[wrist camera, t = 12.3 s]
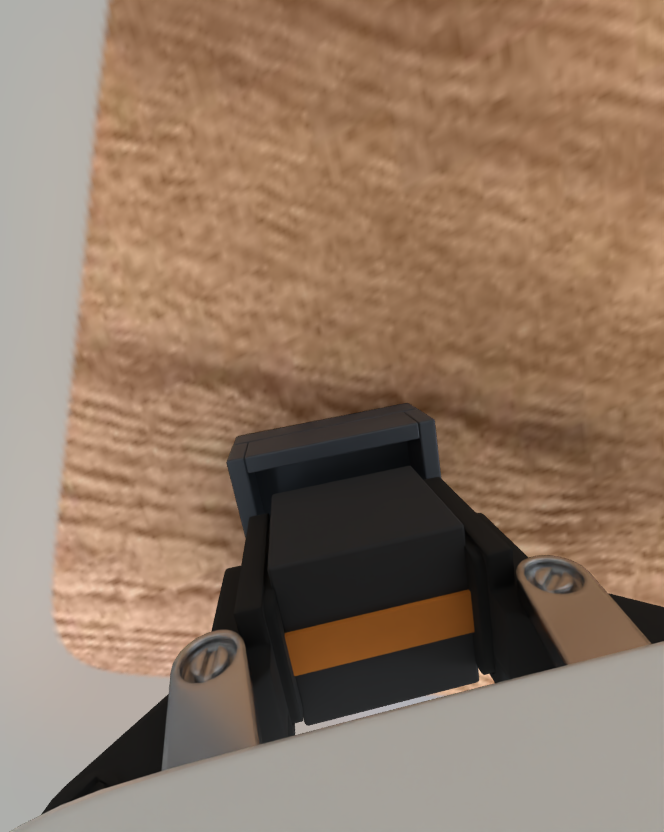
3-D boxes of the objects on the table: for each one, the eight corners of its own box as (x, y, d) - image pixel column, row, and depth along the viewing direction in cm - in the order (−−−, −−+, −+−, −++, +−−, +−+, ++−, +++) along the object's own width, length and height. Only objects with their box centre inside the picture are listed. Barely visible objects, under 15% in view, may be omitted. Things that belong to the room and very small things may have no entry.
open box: (272, 588, 15) (270, 640, 13) (235, 436, 13) (225, 461, 11) (427, 552, 15) (455, 596, 13) (408, 402, 14) (435, 419, 12)
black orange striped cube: (298, 614, 12) (305, 733, 9) (271, 493, 11) (266, 572, 8) (426, 584, 12) (483, 687, 9) (410, 464, 11) (467, 527, 8)
